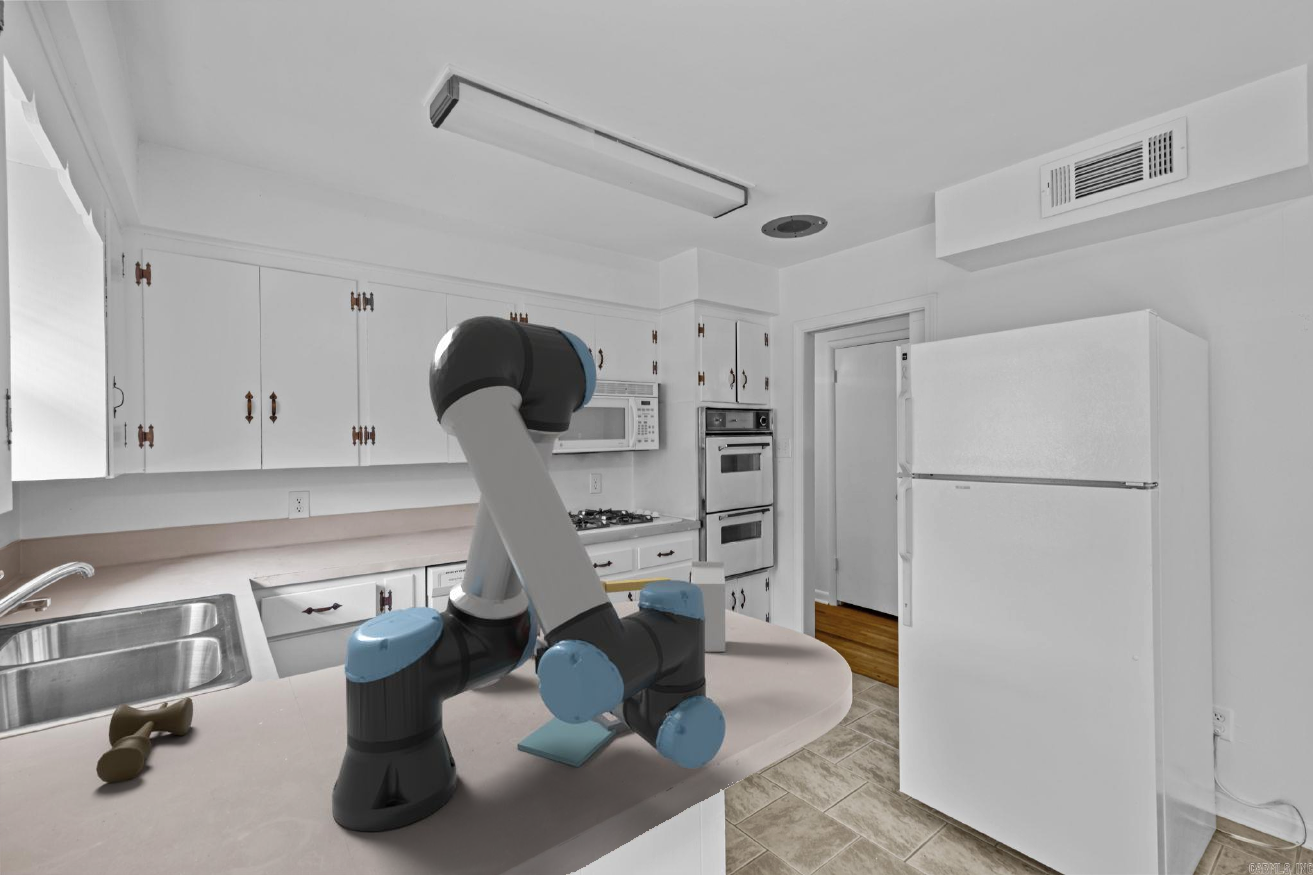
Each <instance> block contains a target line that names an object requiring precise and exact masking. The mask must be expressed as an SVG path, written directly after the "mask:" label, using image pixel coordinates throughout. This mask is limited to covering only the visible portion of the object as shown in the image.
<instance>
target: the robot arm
mask: <svg viewBox="0 0 1313 875" xmlns="http://www.w3.org/2000/svg"><path fill="white" fill-rule="evenodd" d="M428 377H429V379H428V386H429V395H430V400H431V403H432V406H433V410H434V413H435V415H436V417H437V419H438V422H439V424H440V426H441V428H442V430H443V432H444V433H445V434H447V435H449V436H452V437H454V438H456V439H457V442H458V444H459V447H460V448H461V451H462V453H463V455H464V457H465V458H464V459H465V460H466V462H467V464H468V466H469V468H470V471H471V473H472V475H473V478H474V479H475V483H476V484H477V487H478V489H479V492H480V496H479V500H478V505H477V510H476V515H475V521H474V525H473V530H472V536H471V541H470V544H469V550H468V555H467V559H466V560H467V561H466V565H465V568H464V569H465V570H464V576H463V579H462V580H460V581H459V582H456V583H455V584H454V585H453V586H452V587H451V588H450V590H449V595H448V598H447V605H446V609H445V610H444V611H442V612H439V611H438V610H436V609H435V608H433V607H432V608H431V607H427V606H414V607H413V606H412V607H409V608H406V609H401V608H400V609H396V610H391V611H388V612H385V613H383V614H379V615H377V616H375V617H373V618H371V619H368V620H367V621H365V622H363V623H362V624H360V625H359V626H358V627H357V628H355V630H354V631H353V633H352V634H351V636H350V637H349V638H348V640H347V644H346V645H347V646H346V655H345V664H344V675H345V694H346V696H345V697H346V699H345V700H346V703H345V704H346V741H347V742H346V749H345V752H344V755H343V758H342V762H341V766H340V768H339V769H340V770H339V773H338V777H337V779H336V781H335V783H334V786H333V788H332V793H331V810H332V813H331V814H332V816H333V819H334V820H335V821H336V822H337V823H338V824H339V825H341V826H342V827H344V828H347V829H350V830H353V831H354V830H355V831H359V832H360V831H361V832H379V831H386V830H387V831H388V830H393V829H397V828H401V827H404V826H407V825H410V824H413V823H415V822H418V821H420V820H422V819H425V818H426V817H428V816H430V815H431V814H433V813H435V812H436V811H438V810H439V809H440V808H442V807H443V806H444V805H445V804H446V803H447V802H448V801H449V800H450V798H452V796H453V795H454V793H455V790H456V788H457V765H456V760H455V758H454V757H453V754H452V751H451V748H450V743H449V741H448V740H447V737H446V734H445V731H444V728H443V703H444V701H446V700H449V699H450V698H453V697H456V696H457V695H460V694H464V693H465V692H468V691H470V690H472V689H473V688H475V687H478V686H480V685H483V684H485V683H487V682H490V681H492V680H495V679H498V678H500V679H502V677H503V678H504V677H506V676H507V675H509V674H510V673H512V672H513V671H514V670H517V669H519V668H520V667H522V666H523V665H525V663H526V662H527V661H528V660H529V659H530V657H531V656H532V654H533V653H534V655H535V656H534V665H535V666H534V667H535V669H534V670H535V673H534V674H535V675H537V678H538V679H539V686H538V690H539V691H538V692H539V694H540V697H541V700H542V701H543V703H544V705H545V707H546V709H548V711H549V712H550V713H551V714H552V715H553V716H554V717H557V718H558V719H559V720H561V721H563V722H566V723H570V724H580V723H584V722H587V721H590V720H591V719H593V718H595V717H597V716H599V715H601V714H602V715H604V713H609V714H611V715H612V716H614V717H615V718H616V720H617V719H619V720H620V721H621V722H623V723H624V724H625V725H626V726H628V727H629V728H630V729H629V730H632V731H633V732H634V733H636V735H638V736H639V737H640V738H642V739H643V740H645V741H646V742H647V743H648V744H649V745H650V746H652V748H654V750H656V751H658V753H659V754H660V755H661V756H662V757H664V758H666V759H668V760H670V761H671V762H673V763H674V764H676V765H678V766H680V767H682V768H684V769H689V770H690V769H691V770H694V769H698V768H702V767H703V766H705V765H707V764H708V763H710V762H711V761H712V760H713V759H714V758H715V757H716V755H717V754H718V752H719V751H720V750H721V748H722V745H723V743H724V741H725V740H724V739H725V737H726V728H727V727H726V719H725V717H724V714H723V711H722V710H721V708H720V707H719V706H718V705H717V704H716V703H714V700H712V698H709V697H707V680H706V652H705V621H706V618H705V616H704V604H703V594H702V591H701V589H700V588H699V587H698V586H697V585H695V584H693V583H691V581H690V582H689V581H686V580H679V579H677V580H676V579H670V580H662V581H655V582H651V583H648V584H646V585H644V586H643V588H642V590H639V591H640V592H639V597H638V598H639V600H638V603H637V607H638V610H637V611H635V612H633V613H630V614H628V615H626V616H623V617H621V618H620V617H619V615H618V612H617V610H616V608H615V607H614V606H613V603H612V601H611V599H610V597H609V595H608V593H606V591H605V589H604V587H603V585H602V583H601V581H602V580H601V578H600V576H599V573H597V571H596V568H595V567H594V564H593V562H592V560H591V557H590V556H589V554H588V552H587V549H586V548H585V546H584V543H583V541H582V539H581V538H580V535H579V533H578V530H577V528H576V527H575V524H574V523H573V521H572V518H571V517H570V514H569V512H568V510H567V508H566V507H565V505H564V502H563V500H562V498H561V495H560V494H559V491H558V489H557V487H556V485H555V484H554V481H553V479H552V476H551V475H550V473H549V469H550V465H551V460H552V455H553V451H554V447H555V442H556V440H557V439H559V438H560V437H562V436H563V435H565V434H566V433H568V432H569V430H570V424H571V420H572V416H573V413H574V414H575V413H577V412H579V411H580V410H583V408H584V406H586V405H589V403H590V402H591V400H592V398H593V396H594V393H595V391H596V387H597V367H596V364H595V358H594V356H593V355H592V354H591V352H590V349H589V347H588V346H587V344H586V343H585V341H584V340H583V339H581V337H579V336H578V335H576V334H574V333H572V332H569V331H567V330H564V329H560V328H556V326H549V325H543V324H542V325H541V324H536V323H530V322H529V323H528V322H523V321H516V320H511V319H505V318H503V317H498V316H492V315H490V316H489V315H484V316H483V315H482V316H475V317H471V318H468V319H465V320H463V321H461V322H459V323H457V324H456V325H455V326H453V327H452V328H451V329H449V331H447V332H446V333H445V335H443V337H442V338H441V339H440V341H439V343H438V345H437V346H436V348H435V350H434V352H433V355H432V358H431V362H430V367H429V375H428ZM522 587H523V589H524V590H523V589H522ZM529 602H530V604H529ZM535 616H536V618H537V620H538V623H539V625H540V627H541V631H542V634H543V637H544V636H545V639H546V641H547V642H546V641H545V640H544V638H542V637H541V636H540V637H539V636H537V623H535V622H534V617H535ZM473 690H474V689H473Z"/></svg>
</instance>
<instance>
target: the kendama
mask: <svg viewBox="0 0 1313 875" xmlns="http://www.w3.org/2000/svg"><path fill="white" fill-rule="evenodd" d="M168 703H169V702H166V701H165V702H163V703H162V704H161V705H160V706H159V707H158V708H156V709H151V710H150V709H148V710H142V709H137V708H135V707H133V706H131V705H127V704H120V705H119V706H117V707H116V709H115V710H114V711H113V713H112V715H111V718H110V721H109V722H110V723H109V726H108V728H109V729H108V741H109V743H110V746H111V747H112V748H111V749H109V750H108V751H106V752H105V753H103V754H102V755H101V757H100V758H99V759H98V760H97V764H96V769H95V770H96V773H97V777H98V778H99V779H100V780H101V781H102V782H105V783H108V784H116V783H121V782H126V781H130V780H132V779H133V778H135V777H137V776H138V775H139V774H140V772H141V771H142V770H143V768H144V764H145V760H146V759H147V757H148V756H149V755H150V754H151V751H152V742H151V740H150V737H151V734H152V733H155V732H165V733H170V734H174V735H177V736H186V734H187V733H188V732H189V730H190V729H191V727H192V726H191V725H192V722H193V716H194V702H193V699H192V698H191V697H185V698H182V699H181V700H179V701H177V702H175V703H173V704H170V705H168Z"/></svg>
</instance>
